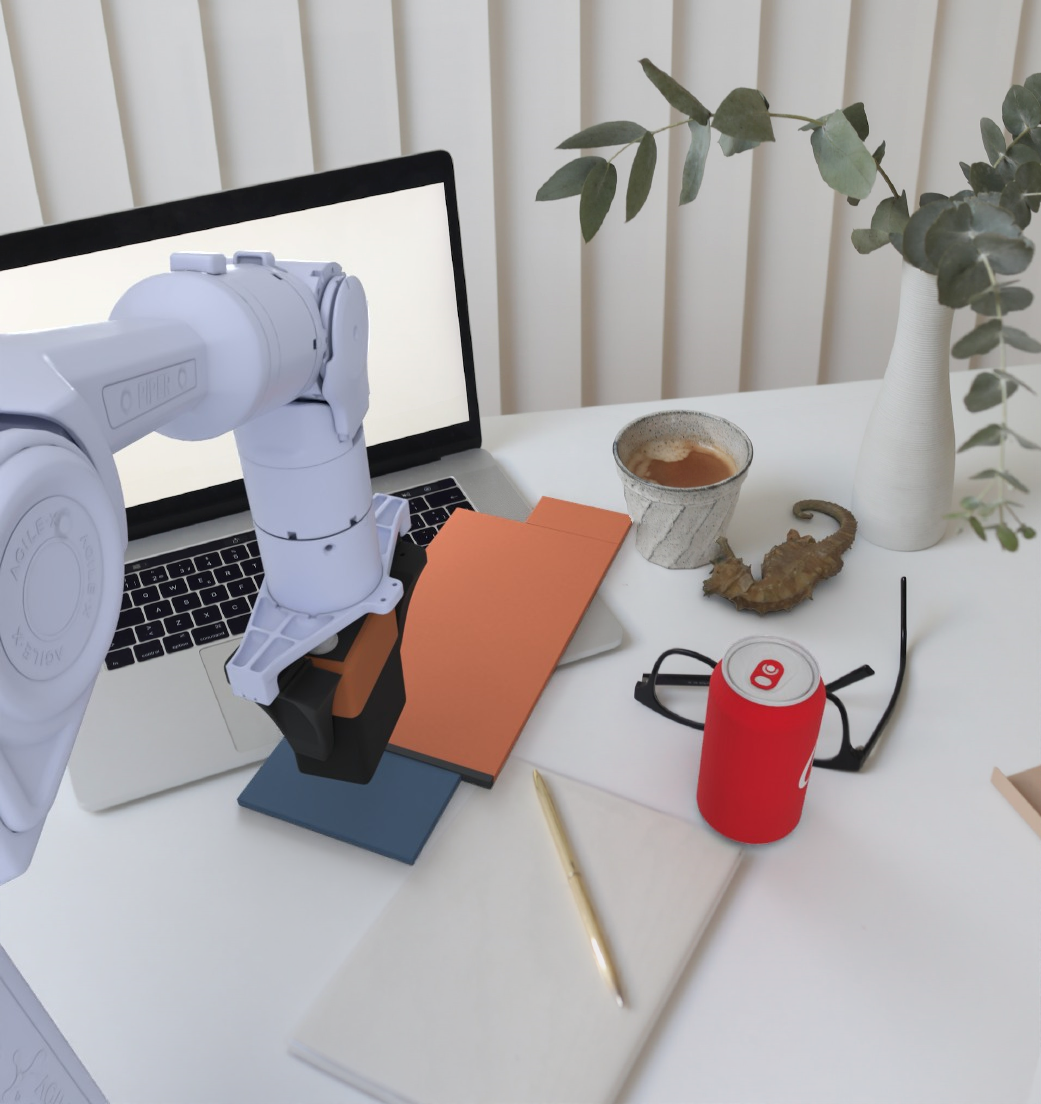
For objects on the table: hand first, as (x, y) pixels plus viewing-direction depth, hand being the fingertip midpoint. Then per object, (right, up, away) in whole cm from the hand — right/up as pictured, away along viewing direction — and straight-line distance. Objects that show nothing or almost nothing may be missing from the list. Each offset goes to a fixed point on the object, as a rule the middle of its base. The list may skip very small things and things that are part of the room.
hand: (347, 702), depth 59 cm
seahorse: (+30, +7, +24) cm, 39 cm away
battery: (0, -2, +2) cm, 3 cm away
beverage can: (+23, -7, +5) cm, 25 cm away
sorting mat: (+6, +2, +17) cm, 18 cm away
